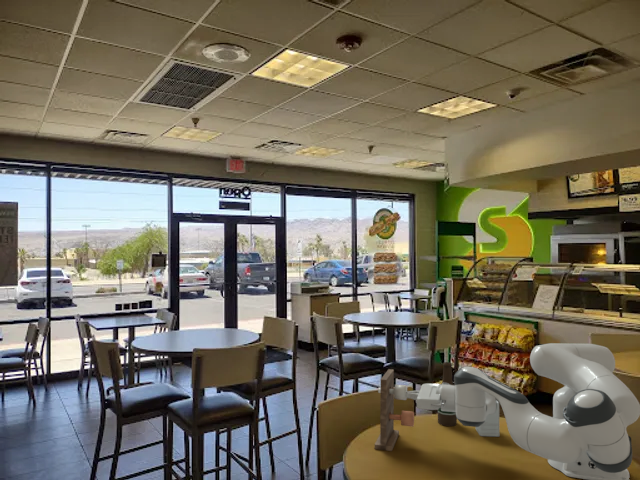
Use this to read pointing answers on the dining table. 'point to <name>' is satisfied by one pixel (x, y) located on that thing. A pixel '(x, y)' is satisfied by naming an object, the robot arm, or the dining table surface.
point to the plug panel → (387, 414)
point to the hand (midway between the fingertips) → (406, 394)
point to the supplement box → (490, 424)
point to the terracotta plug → (404, 418)
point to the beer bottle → (443, 416)
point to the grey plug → (397, 392)
